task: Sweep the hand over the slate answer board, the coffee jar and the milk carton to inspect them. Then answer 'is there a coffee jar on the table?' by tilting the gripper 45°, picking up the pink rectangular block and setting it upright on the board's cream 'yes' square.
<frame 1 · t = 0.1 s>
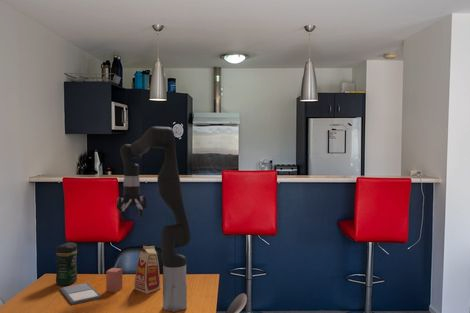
hand: (131, 218, 197), 29 cm above the table, tool pointing down, fingers open, 8 cm apart
pink rectangular block: (114, 289, 181), on the table
answer board: (80, 294, 175), on the table
coffee jar: (66, 283, 190), on the table
milk carton: (147, 288, 183), on the table
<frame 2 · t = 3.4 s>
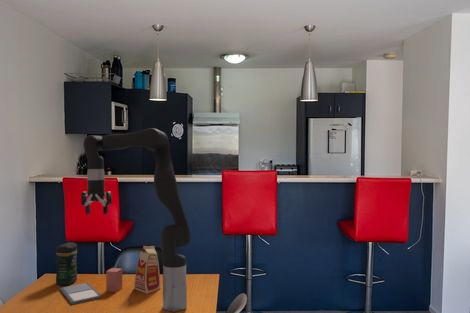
hand: (96, 214, 184), 33 cm above the table, tool pointing down, fingers open, 8 cm apart
nothing on the table moved.
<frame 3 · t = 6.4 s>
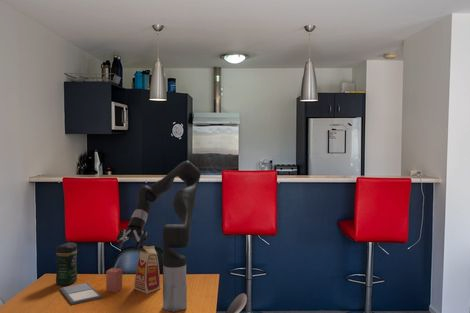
hand: (127, 249, 192), 15 cm above the table, tool tilted 45°, fingers open, 8 cm apart
nothing on the table moved.
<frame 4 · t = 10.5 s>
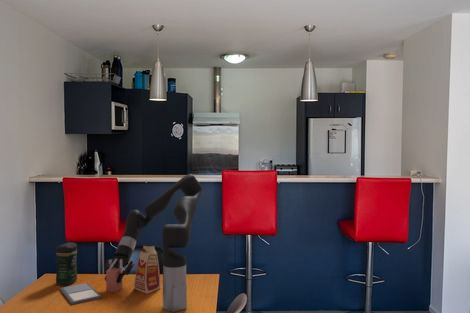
hand: (112, 281, 179), 4 cm above the table, tool tilted 45°, fingers closed on pink rectangular block, 5 cm apart
pink rectangular block: (114, 289, 181), on the table, touching gripper
everything else where it was.
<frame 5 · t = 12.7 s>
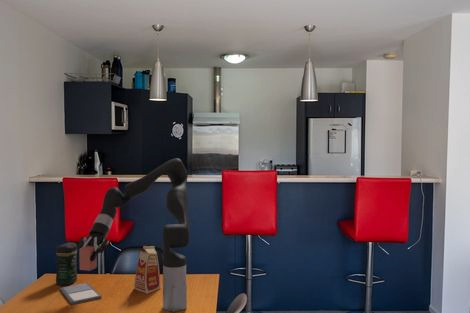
hand: (85, 259, 171), 16 cm above the table, tool tilted 45°, fingers closed on pink rectangular block, 5 cm apart
pink rectangular block: (88, 268, 173), point 12 cm above the table, touching gripper
everything else where it was.
when the fingers open (7 cm above the table, at t = 15.1 s): pink rectangular block drops 1 cm, resting on answer board.
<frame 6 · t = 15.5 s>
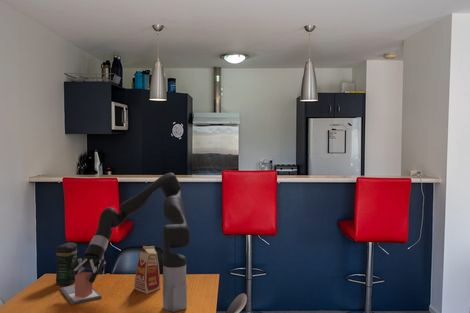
hand: (81, 281, 169), 7 cm above the table, tool tilted 45°, fingers open, 8 cm apart
pink rectangular block: (83, 294, 171), point 1 cm above the table, touching answer board
everything else where it was.
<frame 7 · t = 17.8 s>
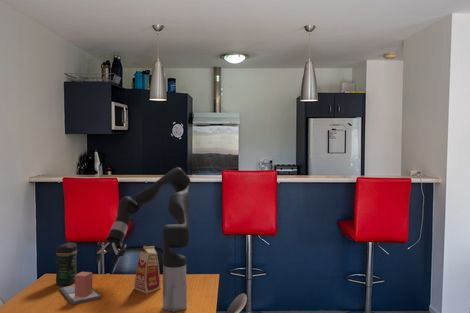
hand: (104, 262, 185), 11 cm above the table, tool tilted 45°, fingers open, 8 cm apart
nothing on the table moved.
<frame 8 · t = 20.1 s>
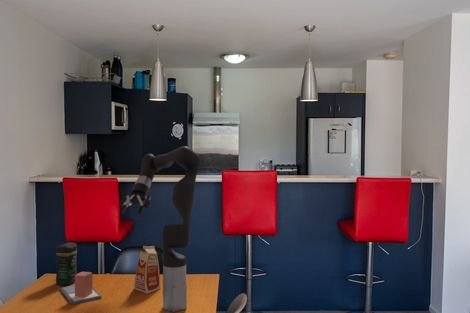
hand: (130, 213, 191), 33 cm above the table, tool tilted 45°, fingers open, 8 cm apart
nothing on the table moved.
at the end: pink rectangular block inside the target area on the answer board (0.1 cm from its centre), point 1.2 cm above the answer board's base; pink rectangular block tilted 0°; the gripper is holding nothing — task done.
